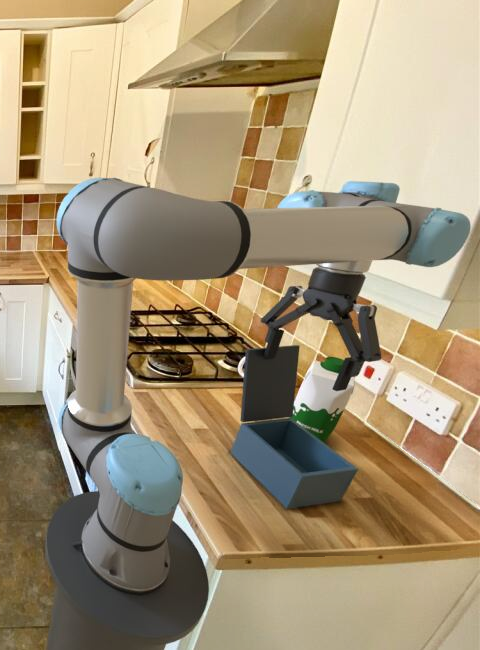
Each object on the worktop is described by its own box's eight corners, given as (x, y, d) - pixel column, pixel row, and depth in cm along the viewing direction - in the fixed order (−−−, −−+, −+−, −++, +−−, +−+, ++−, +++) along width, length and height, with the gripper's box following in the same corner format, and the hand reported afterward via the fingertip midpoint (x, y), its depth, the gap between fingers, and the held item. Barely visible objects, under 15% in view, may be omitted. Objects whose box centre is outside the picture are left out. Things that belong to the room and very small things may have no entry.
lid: (299, 345, 90) (296, 344, 91) (248, 350, 89) (245, 349, 89) (292, 416, 93) (289, 415, 94) (243, 422, 91) (240, 421, 92)
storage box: (340, 501, 84) (358, 469, 80) (286, 509, 82) (302, 476, 78) (277, 447, 98) (290, 417, 94) (230, 453, 96) (241, 423, 92)
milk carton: (328, 431, 102) (362, 363, 94) (326, 451, 96) (362, 380, 88) (286, 417, 108) (314, 350, 99) (281, 434, 101) (310, 365, 93)
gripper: (442, 287, 66) (388, 402, 73) (285, 255, 88) (256, 346, 95) (414, 290, 63) (361, 408, 71) (260, 256, 85) (232, 349, 93)
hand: (301, 372), depth 83 cm, fingers open, 13 cm apart
